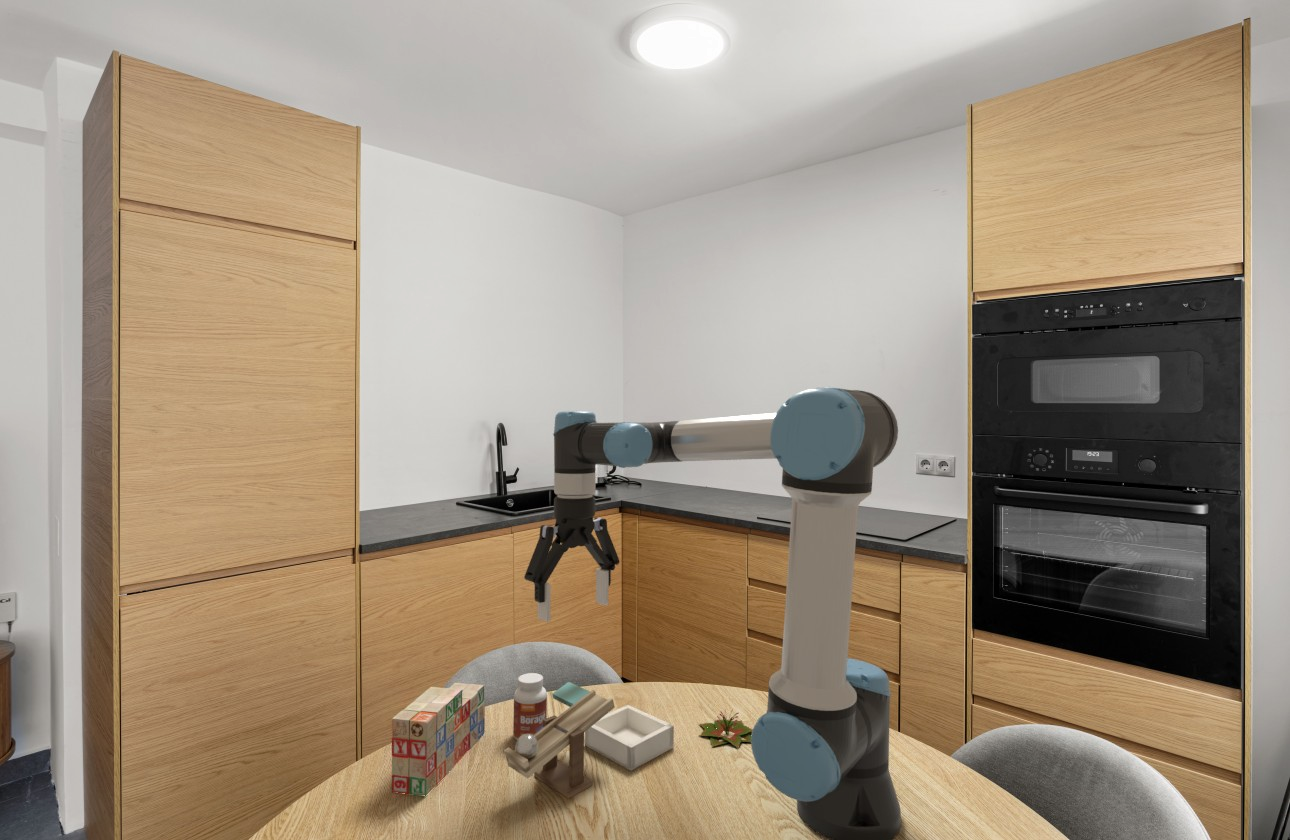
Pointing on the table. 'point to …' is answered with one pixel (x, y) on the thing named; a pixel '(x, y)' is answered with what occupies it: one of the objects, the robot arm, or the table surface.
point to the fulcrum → (566, 767)
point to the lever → (562, 727)
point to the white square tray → (630, 737)
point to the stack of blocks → (435, 735)
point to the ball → (527, 746)
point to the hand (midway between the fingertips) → (574, 611)
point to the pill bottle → (529, 705)
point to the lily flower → (728, 727)
